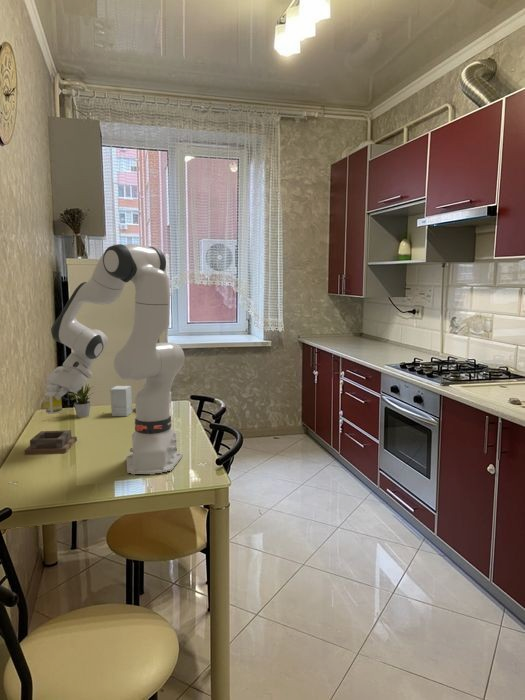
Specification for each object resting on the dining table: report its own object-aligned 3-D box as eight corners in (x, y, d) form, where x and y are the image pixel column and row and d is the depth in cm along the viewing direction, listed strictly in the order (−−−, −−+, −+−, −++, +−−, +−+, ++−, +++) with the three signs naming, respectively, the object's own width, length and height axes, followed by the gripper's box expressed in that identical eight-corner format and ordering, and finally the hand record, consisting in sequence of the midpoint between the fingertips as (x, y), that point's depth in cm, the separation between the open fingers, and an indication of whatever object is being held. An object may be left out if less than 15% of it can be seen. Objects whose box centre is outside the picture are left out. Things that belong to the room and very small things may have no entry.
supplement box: (133, 412, 230) (131, 385, 228) (127, 416, 223) (125, 389, 221) (117, 412, 231) (116, 385, 229) (111, 416, 223) (109, 388, 222)
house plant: (65, 413, 229) (63, 378, 227) (97, 410, 234) (95, 376, 232) (65, 421, 216) (62, 384, 214) (98, 417, 221) (96, 381, 219)
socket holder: (65, 452, 175) (65, 440, 175) (24, 454, 174) (23, 441, 174) (76, 440, 189) (76, 428, 189) (38, 441, 188) (38, 430, 187)
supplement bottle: (64, 410, 184) (62, 384, 183) (58, 414, 179) (57, 387, 178) (49, 410, 184) (48, 384, 183) (43, 414, 179) (41, 387, 178)
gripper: (56, 359, 191) (32, 388, 185) (82, 364, 178) (57, 396, 172) (68, 369, 195) (45, 398, 189) (95, 375, 181) (71, 406, 176)
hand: (51, 397), depth 180 cm, fingers closed on supplement bottle, 5 cm apart
